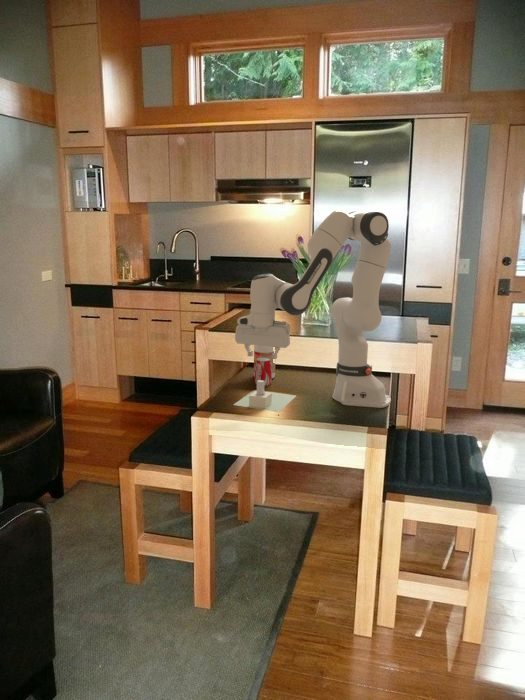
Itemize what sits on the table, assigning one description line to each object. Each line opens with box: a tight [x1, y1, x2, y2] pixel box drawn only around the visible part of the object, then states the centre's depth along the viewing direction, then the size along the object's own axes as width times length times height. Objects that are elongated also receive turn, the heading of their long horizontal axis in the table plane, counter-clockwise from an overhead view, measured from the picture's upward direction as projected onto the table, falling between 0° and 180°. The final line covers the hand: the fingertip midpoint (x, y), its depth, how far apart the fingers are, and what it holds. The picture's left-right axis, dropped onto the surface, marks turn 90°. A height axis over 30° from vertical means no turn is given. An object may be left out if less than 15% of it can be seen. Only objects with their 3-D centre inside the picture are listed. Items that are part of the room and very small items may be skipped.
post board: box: [233, 380, 297, 417], centre depth 208 cm, size 18×20×10 cm
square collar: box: [249, 391, 272, 408], centre depth 203 cm, size 6×6×4 cm
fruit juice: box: [253, 345, 276, 379], centre depth 242 cm, size 9×9×28 cm
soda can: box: [254, 357, 273, 387], centre depth 229 cm, size 7×7×12 cm
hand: (262, 357), depth 201 cm, fingers open, 8 cm apart
